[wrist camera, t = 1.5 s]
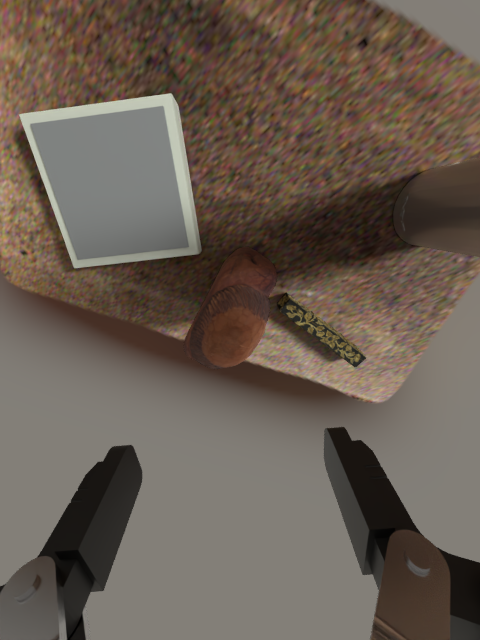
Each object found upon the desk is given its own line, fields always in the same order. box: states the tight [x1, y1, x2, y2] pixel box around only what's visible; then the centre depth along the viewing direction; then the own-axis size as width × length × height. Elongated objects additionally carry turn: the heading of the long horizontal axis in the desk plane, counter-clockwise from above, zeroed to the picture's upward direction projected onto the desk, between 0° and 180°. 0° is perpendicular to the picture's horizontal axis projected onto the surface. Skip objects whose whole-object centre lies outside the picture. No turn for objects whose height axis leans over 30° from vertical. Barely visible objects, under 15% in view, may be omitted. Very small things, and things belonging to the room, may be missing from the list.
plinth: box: [19, 94, 202, 268], centre depth 30 cm, size 16×16×4 cm
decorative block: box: [277, 293, 366, 367], centre depth 38 cm, size 15×2×4 cm, turn 53°
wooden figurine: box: [184, 247, 277, 369], centre depth 28 cm, size 12×6×18 cm, turn 149°
